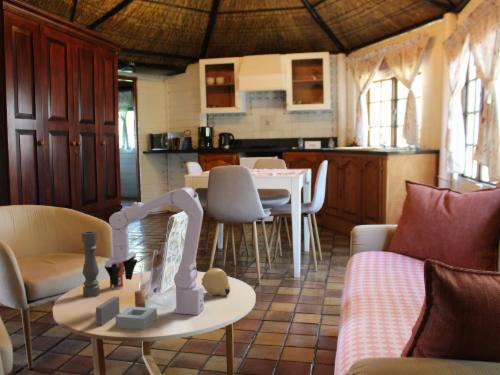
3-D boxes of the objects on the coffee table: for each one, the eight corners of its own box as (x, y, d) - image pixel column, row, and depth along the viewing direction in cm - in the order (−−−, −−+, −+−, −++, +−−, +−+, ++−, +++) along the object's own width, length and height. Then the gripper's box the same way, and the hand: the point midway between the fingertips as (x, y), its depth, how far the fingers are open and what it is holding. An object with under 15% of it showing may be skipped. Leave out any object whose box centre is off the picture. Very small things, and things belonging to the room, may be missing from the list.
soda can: (111, 285, 206) (110, 257, 205) (124, 285, 206) (123, 257, 205) (108, 289, 201) (107, 260, 200) (121, 289, 201) (120, 260, 200)
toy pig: (216, 307, 190) (237, 289, 189) (195, 285, 188) (216, 267, 188) (216, 298, 200) (236, 281, 199) (196, 277, 198) (216, 260, 197)
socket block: (156, 319, 168) (156, 308, 167) (144, 330, 158) (144, 318, 158) (130, 317, 170) (129, 306, 169) (115, 328, 160) (115, 316, 160)
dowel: (146, 309, 177) (146, 290, 176) (142, 313, 173) (142, 293, 173) (137, 309, 177) (137, 290, 177) (133, 312, 174) (133, 293, 173)
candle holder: (95, 297, 190) (93, 234, 188) (80, 296, 191) (78, 233, 189) (102, 292, 197) (100, 231, 194) (87, 291, 198) (85, 230, 195)
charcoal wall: (119, 313, 173) (119, 296, 172) (102, 326, 161) (101, 308, 161) (114, 313, 173) (113, 296, 173) (96, 325, 162) (95, 307, 161)
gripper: (124, 240, 185) (126, 275, 186) (98, 248, 172) (99, 286, 173) (140, 241, 182) (141, 277, 183) (114, 249, 169) (115, 288, 170)
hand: (122, 281), depth 178 cm, fingers open, 7 cm apart
